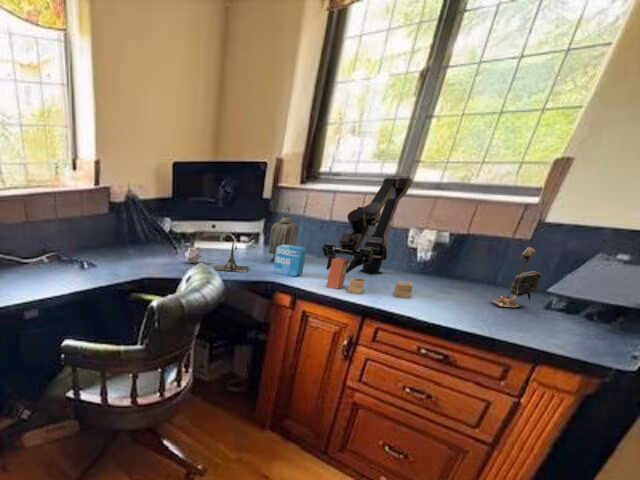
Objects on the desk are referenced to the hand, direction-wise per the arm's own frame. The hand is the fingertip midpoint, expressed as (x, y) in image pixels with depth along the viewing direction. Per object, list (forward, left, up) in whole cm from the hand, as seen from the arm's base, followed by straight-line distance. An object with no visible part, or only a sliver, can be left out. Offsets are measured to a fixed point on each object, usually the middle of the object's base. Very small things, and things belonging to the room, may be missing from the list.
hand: (336, 270), depth 166 cm
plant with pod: (-41, +38, -7) cm, 57 cm away
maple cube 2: (-17, +17, -7) cm, 25 cm away
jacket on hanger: (-7, -49, -7) cm, 50 cm away
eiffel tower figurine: (+24, -42, -7) cm, 48 cm away
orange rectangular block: (-1, -1, -7) cm, 7 cm away
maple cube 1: (-4, +8, -7) cm, 11 cm away
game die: (+37, -59, -7) cm, 69 cm away
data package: (+5, -25, -7) cm, 26 cm away
